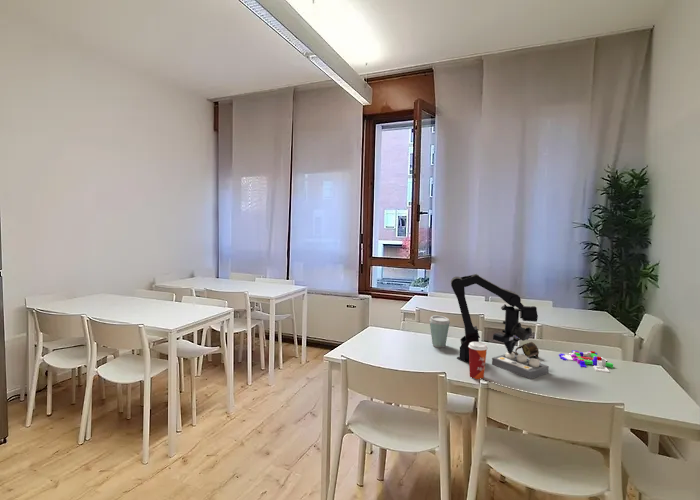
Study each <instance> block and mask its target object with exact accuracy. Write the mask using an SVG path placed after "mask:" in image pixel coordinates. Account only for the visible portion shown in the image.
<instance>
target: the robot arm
mask: <svg viewBox="0 0 700 500" xmlns="http://www.w3.org/2000/svg"><path fill="white" fill-rule="evenodd" d="M450 285H451V288H452V290H453V292H454V295H455V296H456V300H457V302H458V307H459V309H460V312H461V313H460V314H461V318H462V321H463V327H464V336H463V337H461V338H460V340H459V341H460V346H459V356H457V357H456V359H458V360H460V361H463V362H464V363H469V347H468V346H469V343H470V342H480V339H481V337H480V333H479V330H478V327H477V325H474V324H473V322H472V319H471V315H470V314H471V313H470V310H469V307H468V303H467V301H466V300H467V299H466V293H465V288H466V287H469V286H473V285H476V286H477V285H478V286H479V287H482V288H483V289H485V290H487V291H488V292H490V293H492V294H494V295H495V296H497V297H499V298H500V299H501V300H503V301H504V302H505V303H506V304H504V305H502V306H501V307H500V309H501V310H502V311H505V314H504V321H502V324H503V325H504V329H502V332H500V331H499V332H495V333H493V335H492V340H494V341H497V342H500V343H503V344H504V345H505V349H506V352H508V353H510V354H511V353H512V351H514V348H515V346H516V344H517V343H518V342H520V341H528V340H529V338H530V337H531V336H532V335H533V333H532V332H533V329H532V328H531V327H526V328H525V327H523V326H522V323H521V322H519V319H521V320H522V322H533V323H535V322H538V318H539V316H538V310H537V308H538V307H536V306H535V305H532V306H531V305H530V306H529V305H524V304H523V303H522V302H521V301H522V299H521V296H520V295H519V294H518V293H516V292H515V291H512V290H510V289H505V288H503V287H500V286H498V285H497V284H495V283H493V282H491V281H489V280H487V279H486V278H484V277H483V276H480V275H479V274H477V273H473V274H471V275H465V276H461V277H460V276H453V278H452V279H451V280H450ZM507 304H508V305H507ZM515 307H516V308H515Z"/></svg>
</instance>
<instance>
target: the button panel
mask: <svg viewBox="0 0 700 500" xmlns="http://www.w3.org/2000/svg"><path fill="white" fill-rule="evenodd" d="M500 357H504V358H505V354H502V355H498V356H494V357H492V358H491V365H493V366H496V367H498V368H500V369H503V370H506V371H508V372H511V373H514V374H517V376H518V375H519V376H521V377H524V378H527V379H529V380H531V379H535V378H537V377H540V376H543V375H546V374H549V368H550V366H549V365H547V364H543V363H541V362H540V365H539V368H533V367H532V369H529V370H526V369H523V368H520V367H517V366H515V365H512V364H509V363H507V362H504V361H501V360H498V359H497V358H500ZM507 359H508V358H507ZM509 360H511V359H509ZM529 360H530V358H527V363H525V364H523V365H526V366H529ZM512 361H515V362H517V355H515V359H512ZM518 363H519V362H518ZM521 364H522V363H521ZM529 367H531V366H529Z"/></svg>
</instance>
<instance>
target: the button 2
mask: <svg viewBox="0 0 700 500" xmlns="http://www.w3.org/2000/svg"><path fill="white" fill-rule="evenodd" d="M540 363H541V362H540V359H537V358H533V357H530V358H529V366H531V367H533V368H539V365H540Z"/></svg>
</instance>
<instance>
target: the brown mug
mask: <svg viewBox="0 0 700 500" xmlns="http://www.w3.org/2000/svg"><path fill="white" fill-rule="evenodd" d="M520 349H521V350H522V352H523V355H526V356H527V358H533V357H534V356H535V357H536V359H537V358H539V354H540V351H539V347H538V346H537V345H536V343H535V342H532V341H531V342H527V343H524V344H522V345H521V346H517V347H516V349H515V351H514V350H513V351H512V352H513V353H515V355H518V354H519V352H517V351H518V350H520Z"/></svg>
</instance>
